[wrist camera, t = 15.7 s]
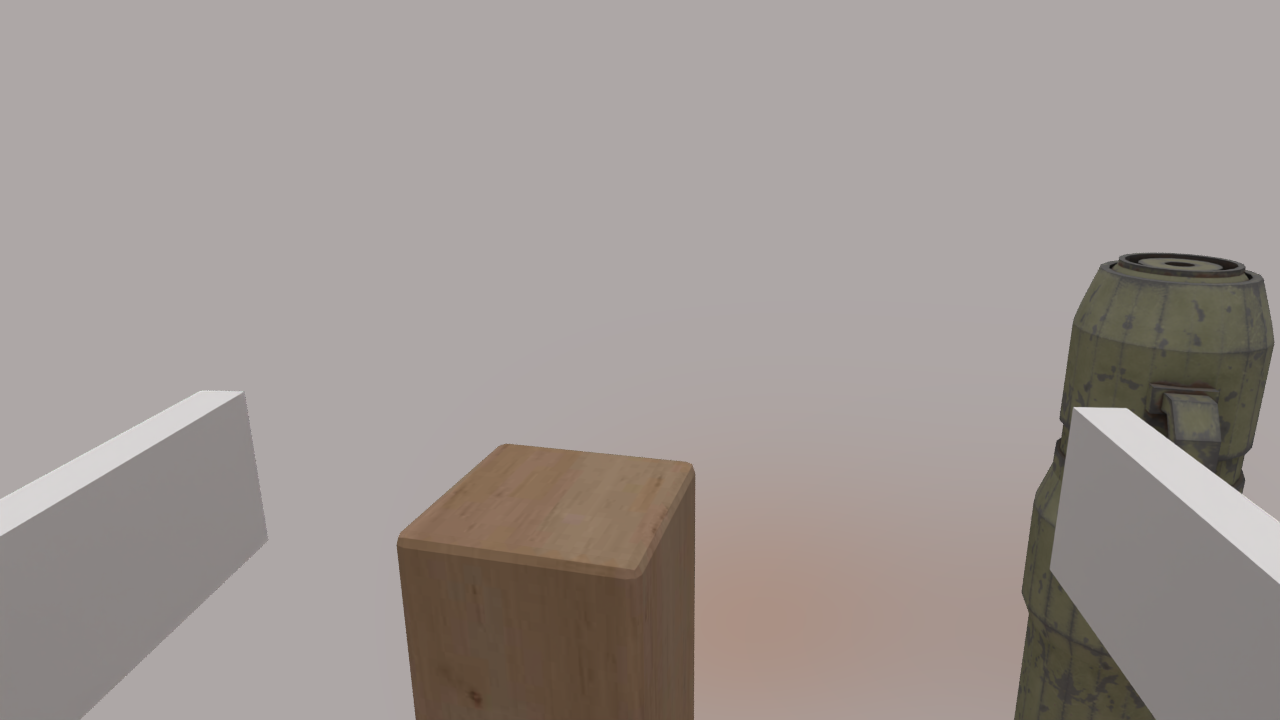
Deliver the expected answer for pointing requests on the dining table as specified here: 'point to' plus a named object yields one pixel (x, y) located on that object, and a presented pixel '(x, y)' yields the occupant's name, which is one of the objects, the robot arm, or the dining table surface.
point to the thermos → (1170, 403)
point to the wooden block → (554, 590)
